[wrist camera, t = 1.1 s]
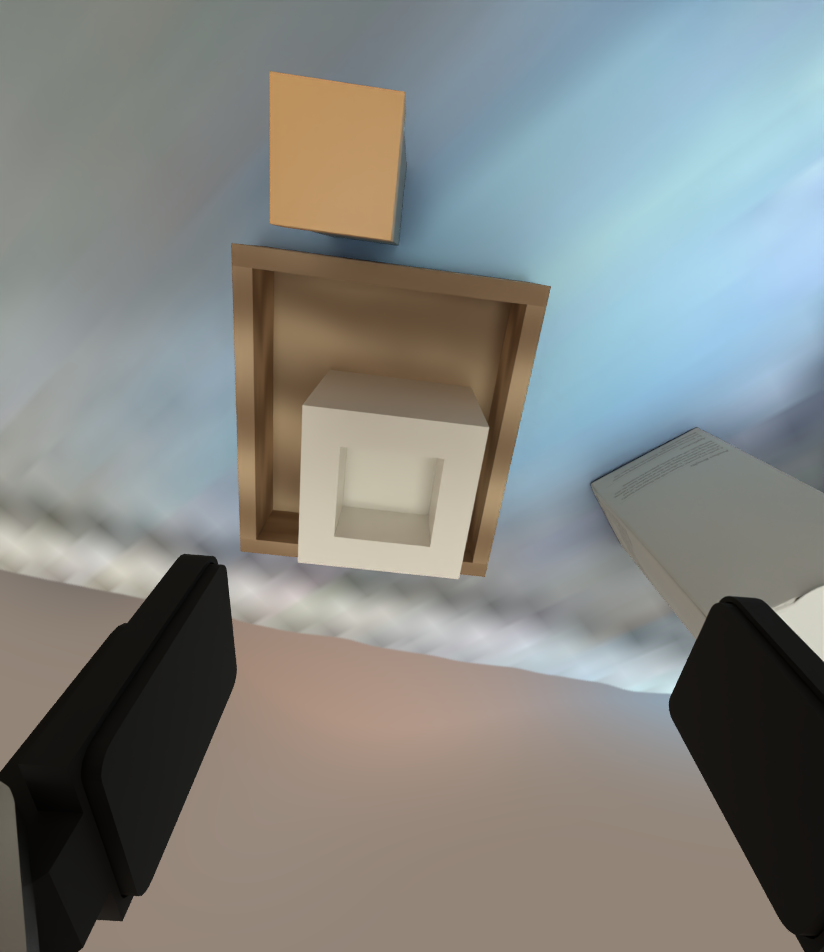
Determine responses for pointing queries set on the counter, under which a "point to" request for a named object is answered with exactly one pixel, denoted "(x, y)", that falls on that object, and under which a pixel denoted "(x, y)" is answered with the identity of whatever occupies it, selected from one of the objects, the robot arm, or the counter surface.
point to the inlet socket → (389, 473)
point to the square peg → (337, 158)
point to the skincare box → (721, 531)
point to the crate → (369, 367)
